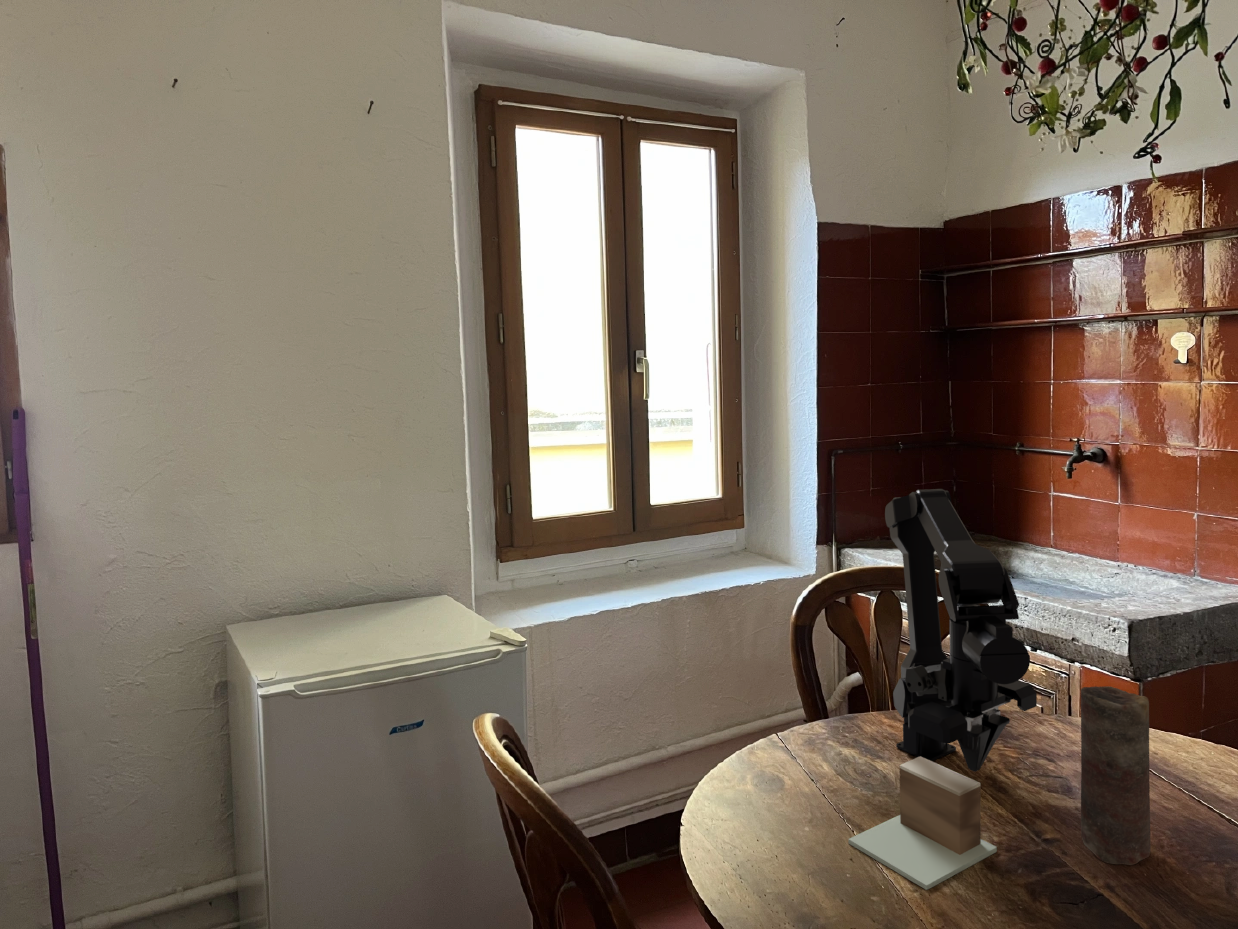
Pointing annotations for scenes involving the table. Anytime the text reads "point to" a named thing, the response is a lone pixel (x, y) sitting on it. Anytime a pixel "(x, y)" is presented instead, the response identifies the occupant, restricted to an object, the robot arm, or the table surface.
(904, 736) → the robot arm
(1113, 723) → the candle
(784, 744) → the table surface
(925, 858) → the sage mat
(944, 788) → the walnut slab
